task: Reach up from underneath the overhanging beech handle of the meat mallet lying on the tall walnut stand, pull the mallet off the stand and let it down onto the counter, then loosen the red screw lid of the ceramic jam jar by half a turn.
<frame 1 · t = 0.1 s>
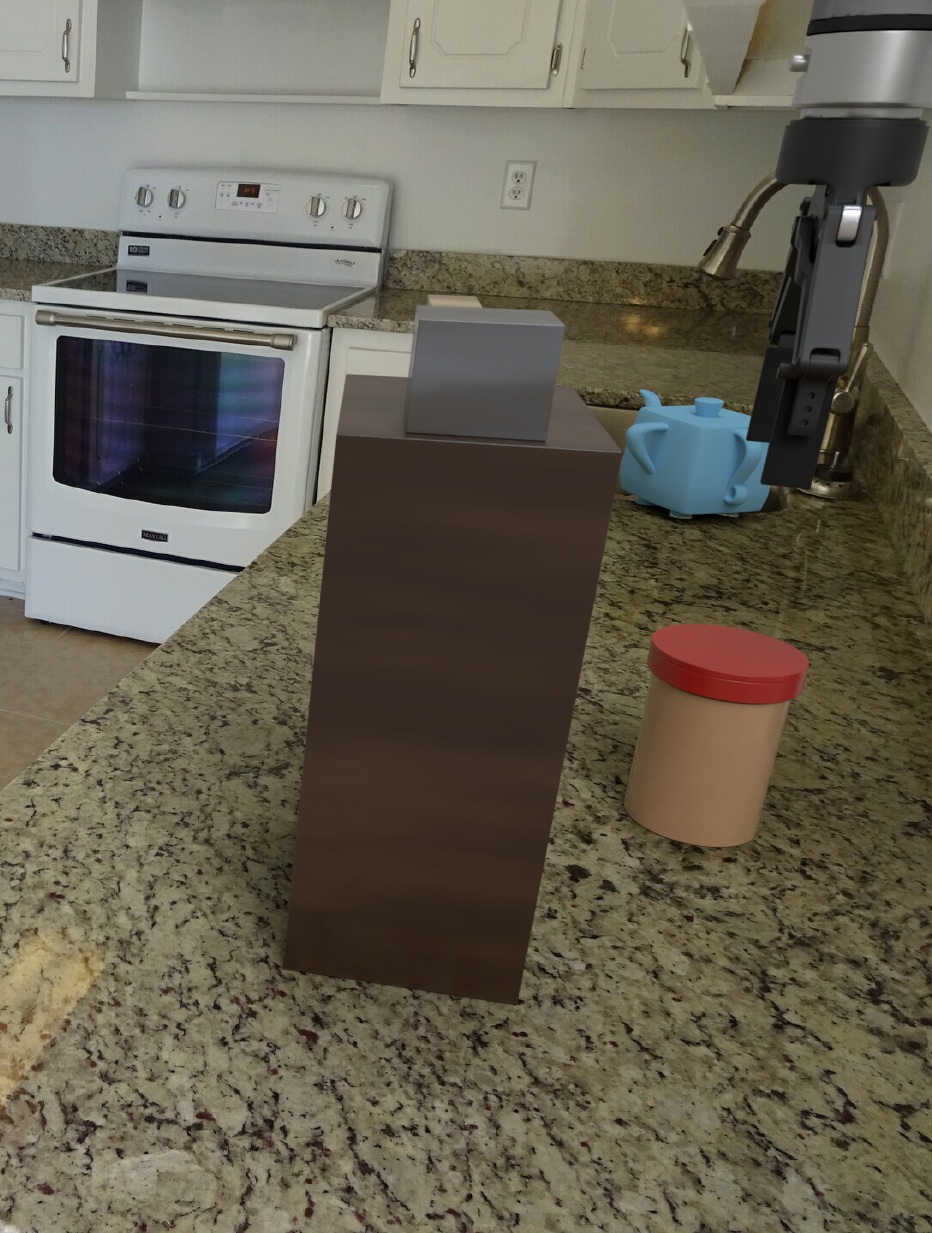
hand: (775, 463, 83), 22 cm above the counter, tool pointing down, fingers open, 13 cm apart
stand: (396, 903, 73), on the counter
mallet: (465, 407, 62), point 29 cm above the counter, touching stand
milk bottle: (496, 517, 149), on the counter
lid: (727, 654, 78), point 12 cm above the counter, screwed on, not yet turned
jam jar: (688, 815, 83), on the counter
teapot: (677, 506, 154), on the counter
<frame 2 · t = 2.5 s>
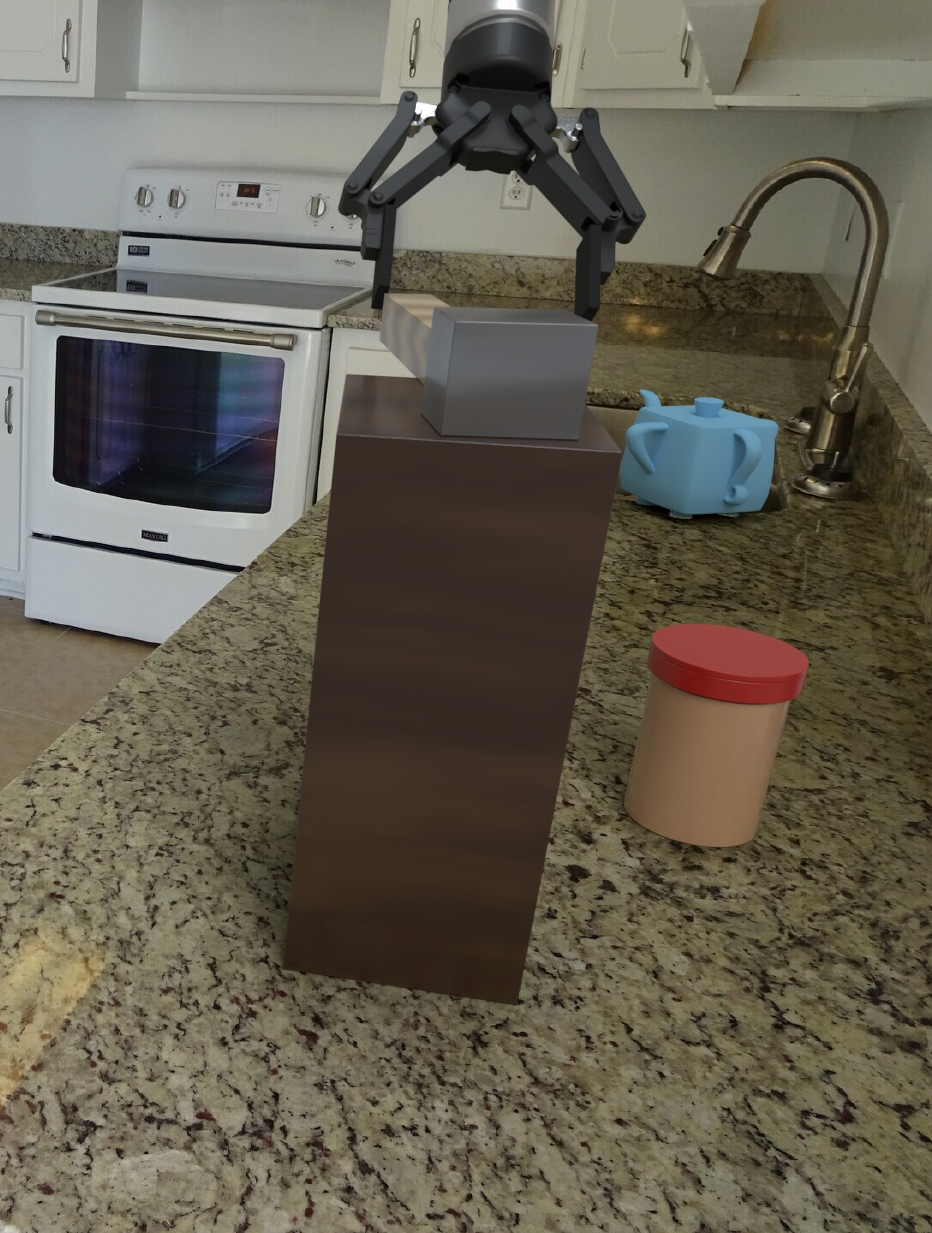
hand: (482, 309, 84), 31 cm above the counter, tool tilted 40°, fingers open, 13 cm apart
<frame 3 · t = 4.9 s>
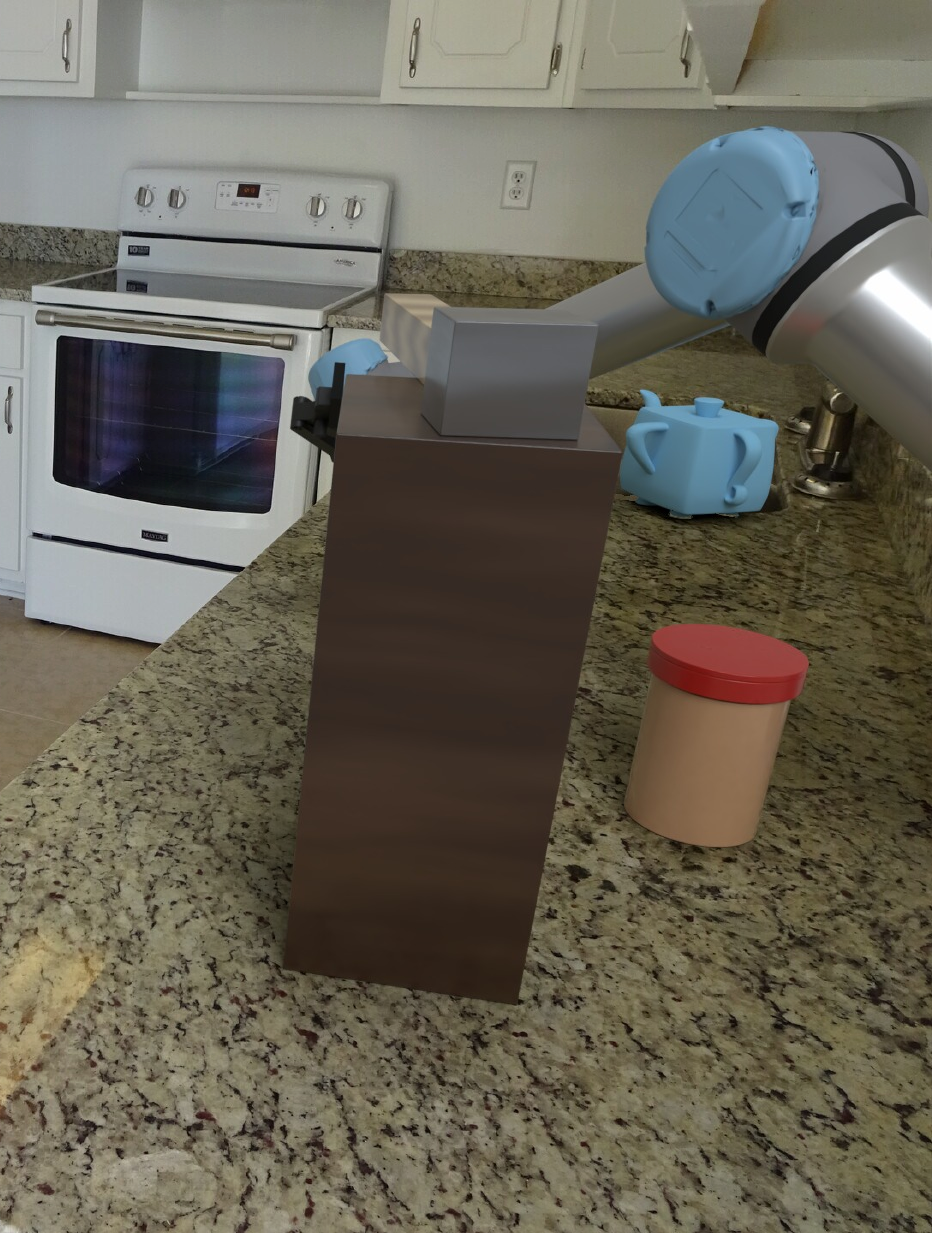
hand: (438, 386, 86), 25 cm above the counter, tool pointing upward, fingers open, 13 cm apart
nothing on the counter moved.
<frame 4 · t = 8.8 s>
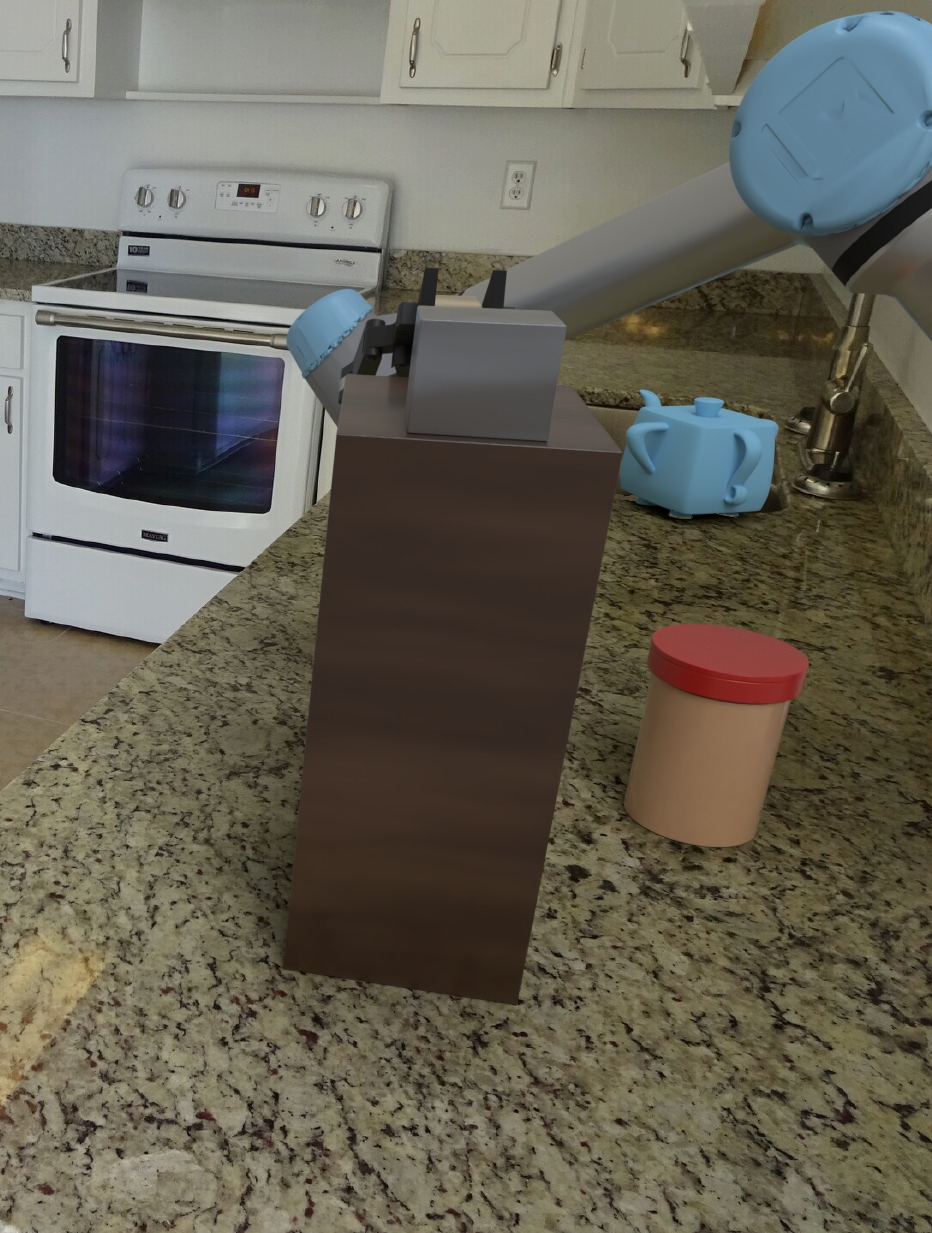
hand: (463, 292, 71), 33 cm above the counter, tool pointing upward, fingers closed on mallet, 3 cm apart
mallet: (466, 407, 61), point 29 cm above the counter, touching gripper, stand
everything else where it was.
when the fingers open (22 cm above the counter, at t = 17.4 s): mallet drops 18 cm, on the counter.
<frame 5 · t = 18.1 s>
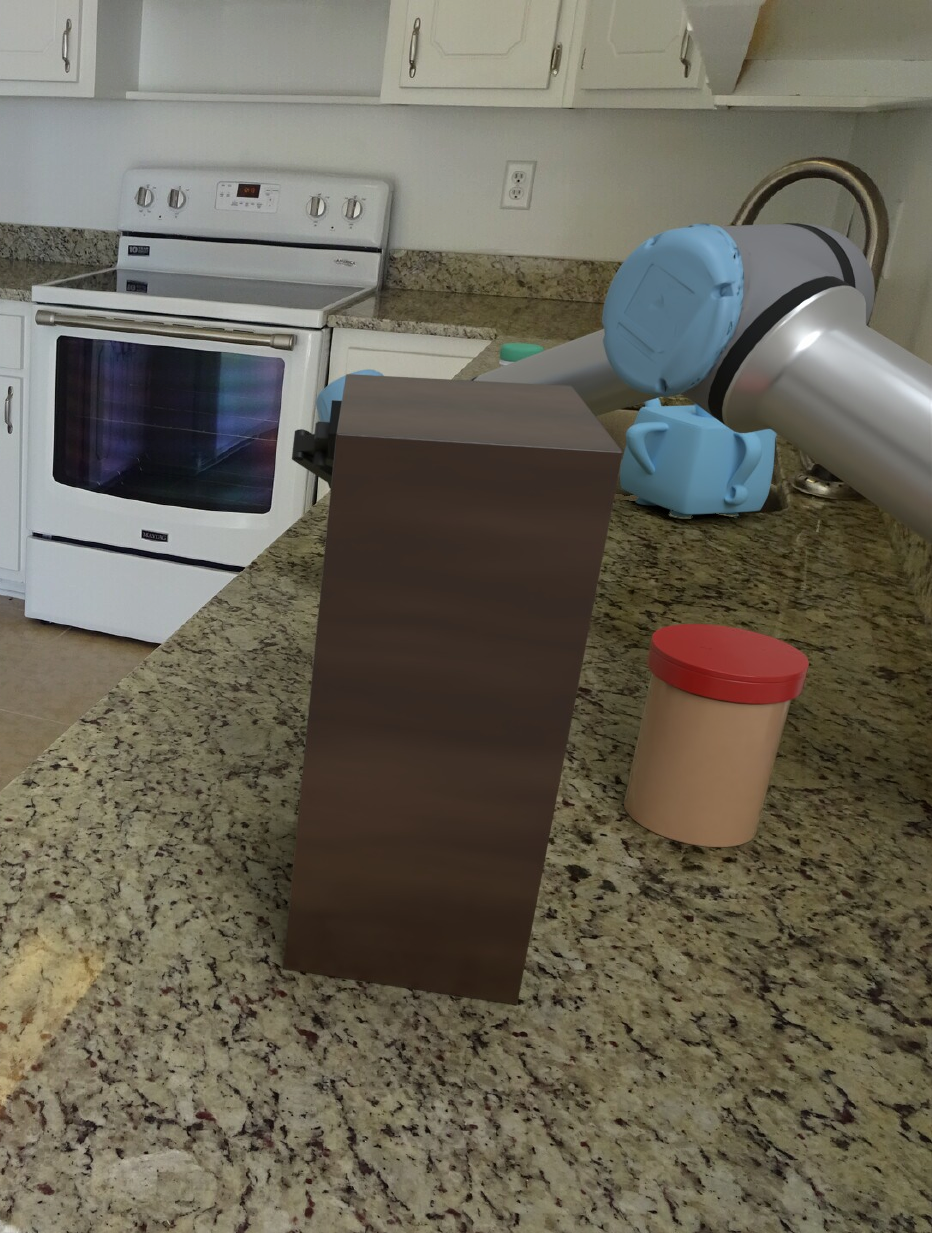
hand: (424, 422, 95), 21 cm above the counter, tool pointing upward, fingers open, 13 cm apart
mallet: (392, 752, 91), on the counter
everything else where it was.
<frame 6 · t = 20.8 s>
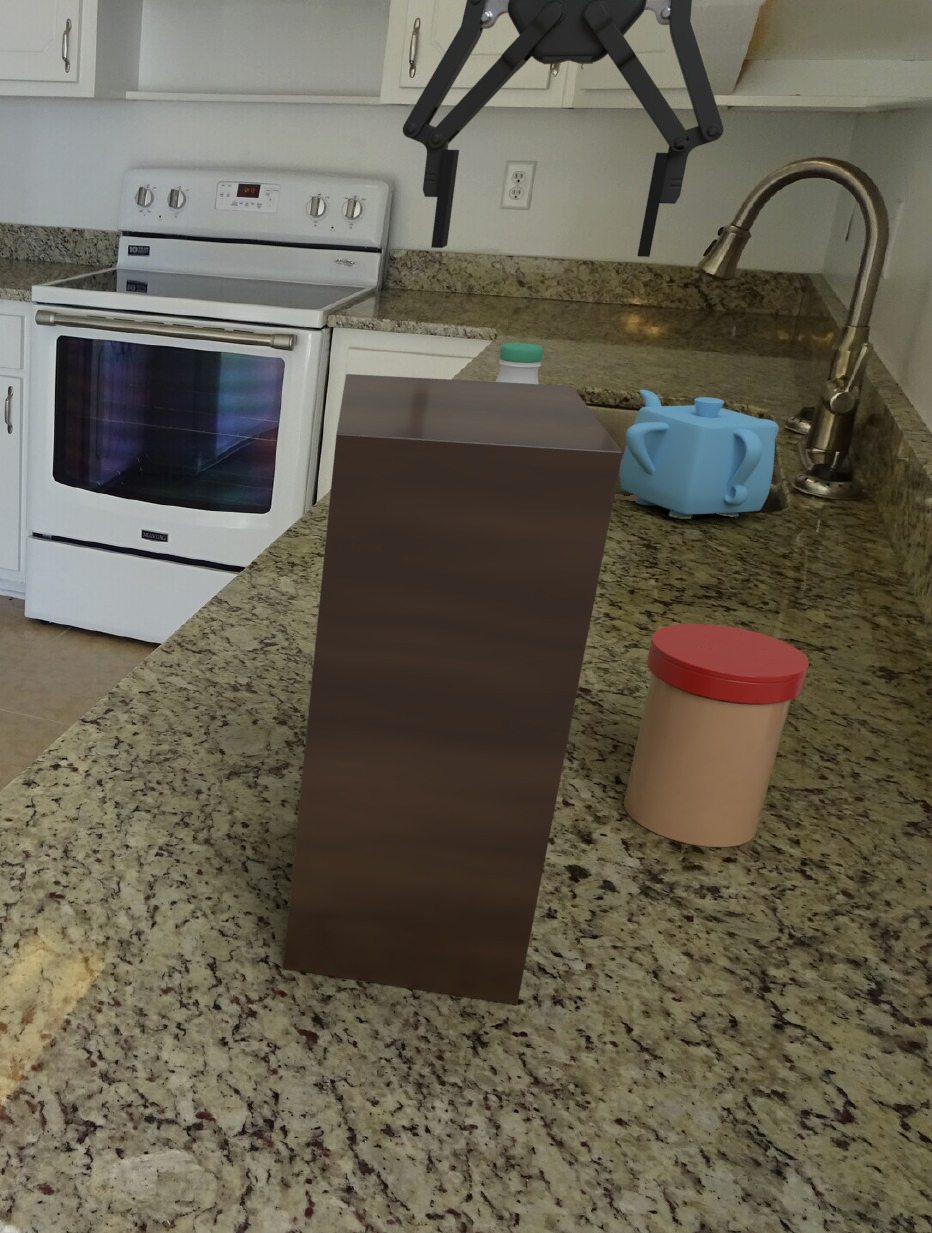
hand: (538, 251, 88), 34 cm above the counter, tool pointing down, fingers open, 13 cm apart
nothing on the counter moved.
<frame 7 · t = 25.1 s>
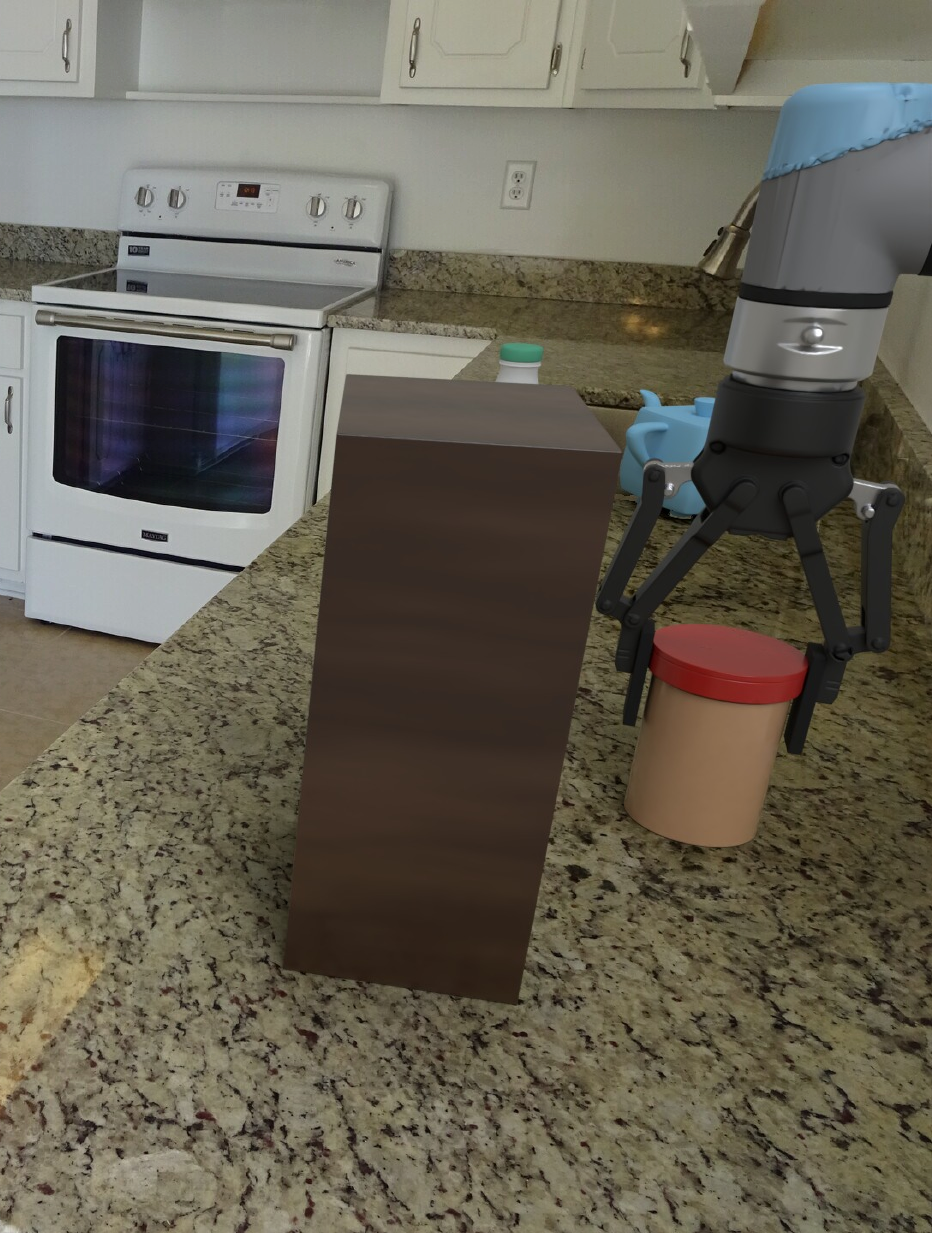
hand: (708, 731, 80), 6 cm above the counter, tool pointing down, fingers closed on lid, 9 cm apart
lid: (727, 654, 78), point 12 cm above the counter, screwed on, not yet turned, touching gripper
everything else where it was.
when the fingers open (6 cm above the counter, at t = 28.5 s): lid stays where it is, point 12 cm above the counter.
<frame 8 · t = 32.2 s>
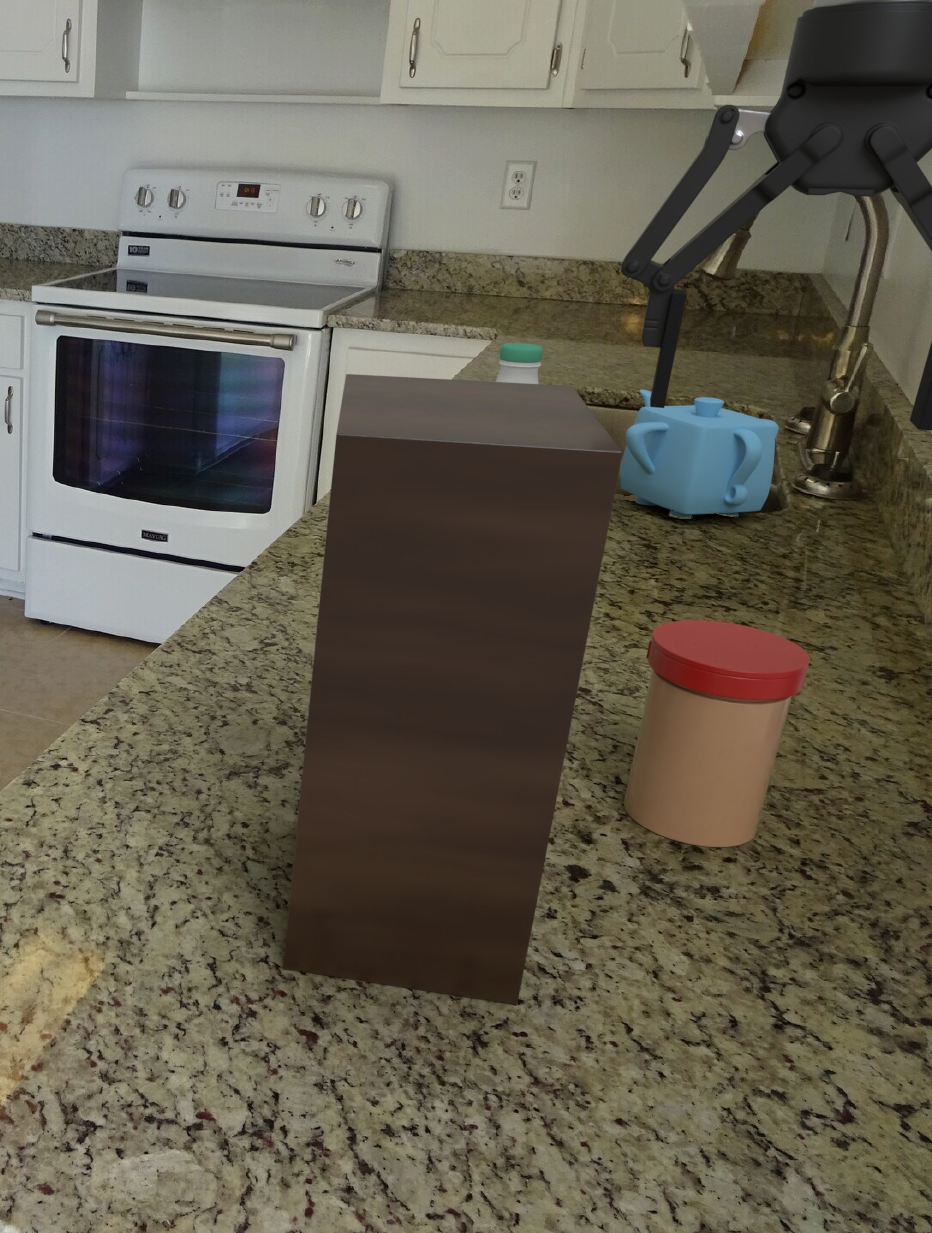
hand: (784, 415, 72), 27 cm above the counter, tool pointing down, fingers open, 13 cm apart
lid: (728, 651, 78), point 12 cm above the counter, turned 179° so far, risen 0.2 cm, still on its thread
everything else where it was.
at the end: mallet on the counter; lid turned 0.50 turns (still on its thread); lid is still on its thread (0.50 turns) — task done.
